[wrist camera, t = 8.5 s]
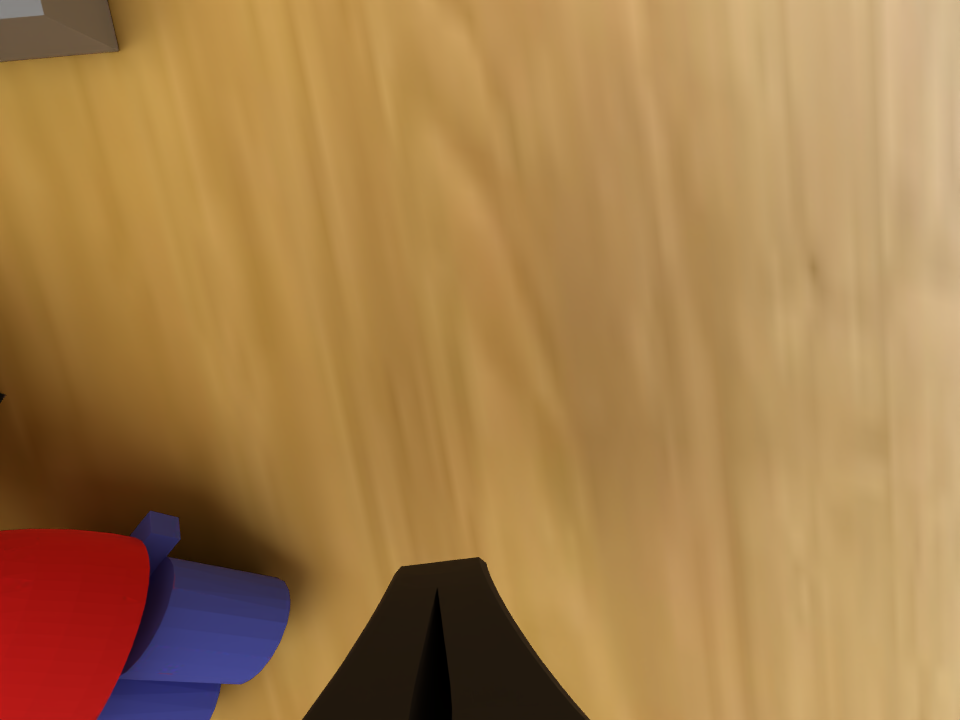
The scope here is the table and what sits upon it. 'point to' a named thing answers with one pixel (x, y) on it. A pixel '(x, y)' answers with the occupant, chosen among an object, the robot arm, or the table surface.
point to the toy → (126, 625)
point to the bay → (54, 28)
